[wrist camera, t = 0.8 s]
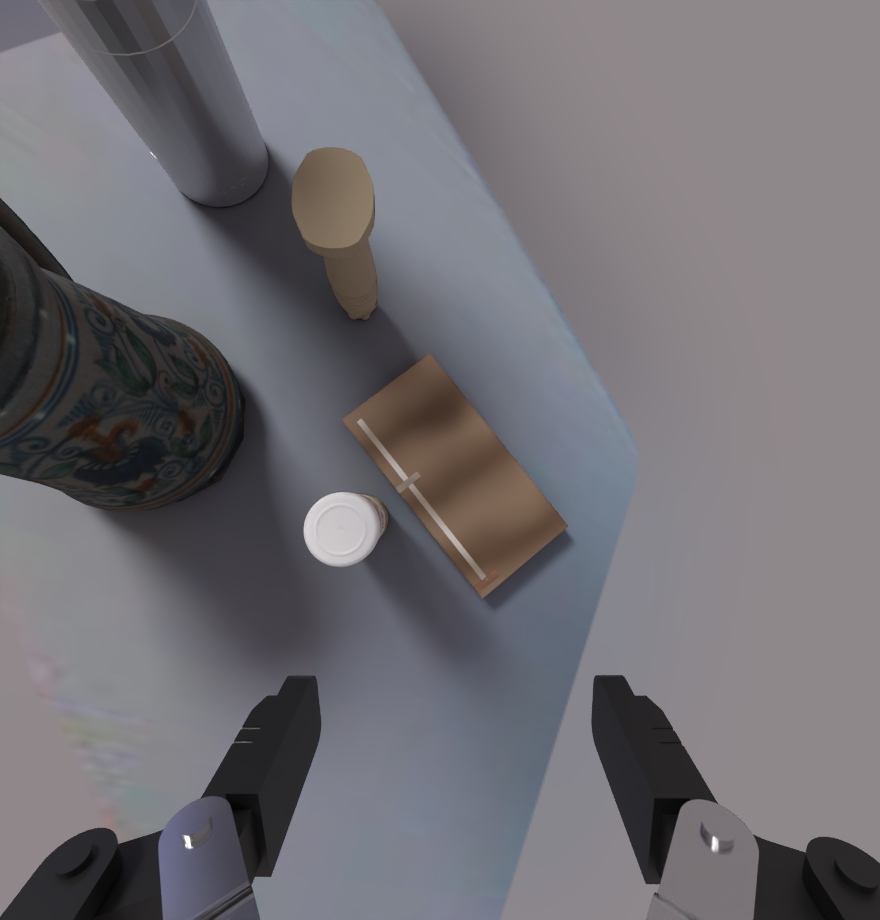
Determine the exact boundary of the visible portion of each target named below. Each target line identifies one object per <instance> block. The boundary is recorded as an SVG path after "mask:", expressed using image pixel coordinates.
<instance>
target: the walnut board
mask: <svg viewBox="0 0 880 920" xmlns="http://www.w3.org/2000/svg"><path fill="white" fill-rule="evenodd" d="M342 421H343V422H344V424H345V425H346V426H347V427H348V429H349V430H350V431H351V433H352V434H353V435H354V436H355V438H356V439H357V440H358V441H359V443H360V444H361V445H362V446H363V448H364V449H365V450H366V452H367V453H368V454H369V455H370V457H371V458H372V459H373V460H374V462H375V463H376V464H377V465H378V467H379V468H380V469H381V471H382V472H383V473H384V474H385V476H386V477H387V478H388V479H389V481H390V482H391V483H392V484H393V486H394V487H395V488H396V490H397V491H398V492H399V493H400V495H401V496H402V497H403V498H404V500H405V501H406V502H407V503H408V505H409V506H410V507H411V509H412V510H413V511H414V512H415V514H416V515H417V516H418V517H419V519H420V520H421V521H422V522H423V524H424V525H425V526H426V528H427V529H428V530H429V531H430V533H431V534H432V535H433V536H434V538H435V539H436V540H437V541H438V543H439V544H440V545H441V547H442V548H443V549H444V550H445V552H446V553H447V554H448V555H449V557H450V558H451V559H452V560H453V562H454V563H455V564H456V566H457V567H458V568H459V569H460V571H461V572H462V573H463V574H464V576H465V577H466V578H467V579H468V581H469V582H470V583H471V585H472V586H473V587H474V588H475V590H476V591H477V592H478V593H479V595H480V596H481V597H482V598H484V597H485V596H486V595H488V594H489V593H490V592H491V591H492V590H494V589H495V588H496V587H497V586H498V585H499V584H501V583H502V582H503V581H504V580H505V579H507V578H508V577H509V576H510V575H511V574H512V573H514V572H515V571H516V570H517V569H518V568H520V567H521V566H522V565H523V564H524V563H525V562H527V561H528V560H529V559H530V558H531V557H533V556H534V555H535V554H536V553H537V552H538V551H540V550H541V549H542V548H543V547H544V546H546V545H547V544H548V543H549V542H550V541H551V540H553V539H554V538H555V537H556V536H557V535H559V534H560V533H561V532H562V531H563V530H564V529H566V528H567V527H568V525H567V524H566V523H565V521H564V520H563V519H562V518H561V516H560V515H559V514H558V513H557V511H556V510H555V509H554V508H553V506H552V505H551V504H550V503H549V501H548V500H547V499H546V498H545V496H544V495H543V494H542V493H541V491H540V490H539V489H538V488H537V486H536V485H535V484H534V483H533V481H532V480H531V479H530V478H529V476H528V475H527V474H526V472H525V471H524V470H523V469H522V467H521V466H520V465H519V464H518V462H517V461H516V460H515V459H514V457H513V456H512V455H511V454H510V452H509V451H508V450H507V449H506V447H505V446H504V445H503V444H502V442H501V441H500V440H499V439H498V437H497V436H496V435H495V434H494V432H493V431H492V430H491V429H490V427H489V426H488V425H487V424H486V422H485V421H484V420H483V419H482V417H481V416H480V415H479V414H478V412H477V411H476V410H475V409H474V407H473V406H472V405H471V404H470V402H469V401H468V400H467V398H466V397H465V396H464V395H463V393H462V392H461V391H460V390H459V388H458V387H457V386H456V385H455V383H454V382H453V381H452V380H451V378H450V377H449V376H448V375H447V373H446V372H445V371H444V370H443V368H442V367H441V366H440V365H439V363H438V362H437V361H436V360H435V358H434V357H433V356H432V355H431V353H429V354H428V355H427V356H425V357H424V358H423V359H421V360H420V361H419V362H417V363H416V364H415V365H413V366H412V367H411V368H409V369H408V370H407V371H405V372H404V373H403V374H401V375H400V376H399V377H397V378H396V379H395V380H393V381H392V382H391V383H389V384H388V385H387V386H385V387H384V388H383V389H381V390H380V391H379V392H377V393H376V394H375V395H373V396H372V397H371V398H369V399H368V400H367V401H365V402H364V403H363V404H361V405H360V406H359V407H357V408H356V409H355V410H353V411H352V412H351V413H349V414H348V415H347V416H346V417H344V418H343V419H342Z"/></svg>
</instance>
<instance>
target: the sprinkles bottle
mask: <svg viewBox="0 0 880 920" xmlns="http://www.w3.org/2000/svg"><path fill="white" fill-rule="evenodd" d="M387 524H388V513H387V510H386V508H385V506H384V505H383V503H382V502H381V501H380V500H379V499H377V498H375V497H374V496H371V495H366V494H365V495H362V494H360V495H358V494H355V493H350V492H338V493H333V494H330V495H327V496H325V497H323V498H321V499H320V500H319V501H317V502H316V503H315V504H314V505H313V506H312V508H311V509H310V511H309V512H308V514H307V517H306V519H305V523H304V538H305V542H306V545H307V547H308V549H309V550H310V552H311V553H312V555H313V556H314V557H315V558H317V559H318V560H319V561H321V562H322V563H324V564H327V565H329V566H334V567H347V566H351V565H354V564H356V563H358V562H360V561H362V560H363V559H364V558H365V557H367V556H368V555H369V554H370V553H371V551H372V550H373V549H374V547H375V546H376V544H377V541H378V539H379V538H380V537H381V536H382V535H383V534H384V532H385V530H386V528H387Z"/></svg>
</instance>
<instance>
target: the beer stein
mask: <svg viewBox="0 0 880 920" xmlns="http://www.w3.org/2000/svg"><path fill="white" fill-rule="evenodd" d="M244 413H245V398H244V396H243V394H242V392H241V390H240V388H239V385H238V383H237V381H236V379H235V376H234V374H233V372H232V370H231V367H230V366H229V364H228V362H227V360H226V359H225V358H224V356H223V355H222V354H221V352H220V351H219V350H218V349H217V348H216V347H215V346H214V345H213V344H212V343H211V342H210V341H209V340H208V339H207V338H206V337H204V336H203V335H201V334H200V333H198V332H197V331H195V330H194V329H192V328H190V327H188V326H186V325H184V324H182V323H180V322H177V321H175V320H172V319H168V318H164V317H160V316H156V315H147V314H142V313H139V312H137V311H135V310H133V309H131V308H129V307H127V306H125V305H123V304H121V303H119V302H117V301H115V300H113V299H111V298H109V297H106V296H104V295H102V294H100V293H97V292H95V291H93V290H91V289H89V288H87V287H85V286H82V285H80V284H78V283H75V282H74V281H73V280H72V278H71V277H70V276H69V274H68V273H67V272H66V270H65V269H64V268H63V267H62V265H61V264H60V263H59V262H58V261H57V260H56V258H55V257H54V256H53V255H52V254H51V252H50V251H49V250H48V249H47V248H46V247H45V246H44V244H43V243H42V242H41V241H40V240H39V239H38V237H37V236H36V235H35V234H34V233H33V232H32V231H31V230H30V229H29V228H28V227H27V225H26V224H25V223H24V222H23V221H22V220H21V219H20V218H19V217H18V216H17V214H16V213H15V212H14V211H13V210H12V209H11V208H10V207H9V206H8V205H7V204H6V203H5V202H4V201H3V200H2V199H1V198H0V474H2V475H6V476H10V477H14V478H19V479H23V480H27V481H32V482H36V483H39V484H42V485H45V486H48V487H51V488H54V489H57V490H60V491H62V492H63V493H65V494H66V495H68V496H70V497H71V498H73V499H75V500H77V501H79V502H81V503H84V504H86V505H90V506H93V507H96V508H101V509H105V510H111V511H126V512H131V511H144V510H150V509H155V508H159V507H162V506H165V505H168V504H170V503H173V502H178V501H182V500H184V499H185V498H187V497H189V496H191V495H193V494H195V493H197V492H199V491H201V490H203V489H205V488H206V487H208V486H210V485H212V484H214V483H216V482H218V481H220V480H221V478H222V476H223V475H224V473H225V471H226V469H227V467H228V466H229V464H230V462H231V460H232V458H233V456H234V455H235V453H236V451H237V449H238V447H239V446H240V444H241V442H242V440H243V432H244Z"/></svg>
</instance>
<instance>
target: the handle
mask: <svg viewBox="0 0 880 920" xmlns="http://www.w3.org/2000/svg"><path fill="white" fill-rule="evenodd" d="M292 212H293V215H294V219H295V221H296V223H297V226H298V228H299V230H300V233H301V235H302V237H303V239H304V241H305V243H306V245H307V247H308V249H310V250H311V251H313V252H314V253H316V254H318V255H321V256H323V259H324V263H325V267H326V271H327V275H328V279H329V282H330V285H331V287H332V290H333V292H334V294H335V296H336V298H337V300H338V302H339V303H340V305H341V306H342V307H343V309H344V310H346V311H347V314H348V316H349V317H350V318H351V319H353V320H355V319H357V318H360V319H364V320H367V319H369V316H370V314H371V312H372V311H373V310H374V309H376V307H377V276H376V269H375V265H374V261H373V257H372V253H371V250H370V246H369V242H368V238H369V236H370V234H371V231H372V228H373V226H374V219H375V196H374V189H373V183H372V180H371V177H370V175H369V173H368V170H367V168H366V166H365V164H364V162H363V160H362V158H361V157H360V156H358V155H357V154H355V153H353V152H351V151H349V150H346V149H342V148H320V149H316V150H314V151H312V152H310V153H308V154H307V155H306V156H305V158H304V160H303V161H302V163H301V165H300V167H299V168H298V170H297V172H296V174H295V177H294V179H293V185H292Z"/></svg>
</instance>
